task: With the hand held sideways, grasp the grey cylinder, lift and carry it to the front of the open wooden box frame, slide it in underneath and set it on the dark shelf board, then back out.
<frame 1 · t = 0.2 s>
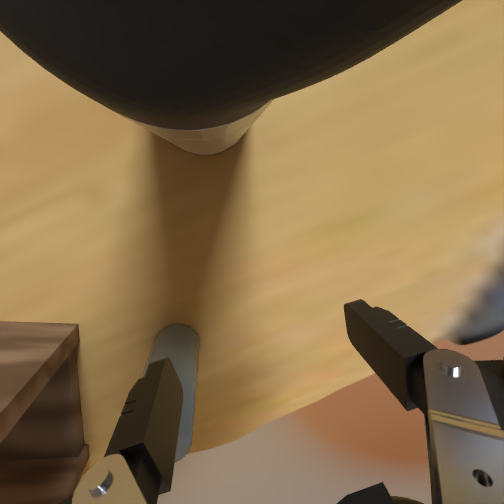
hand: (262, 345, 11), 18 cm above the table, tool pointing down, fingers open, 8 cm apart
open wooden box frame: (21, 398, 30), on the table
grey cylinder: (177, 342, 31), on the table
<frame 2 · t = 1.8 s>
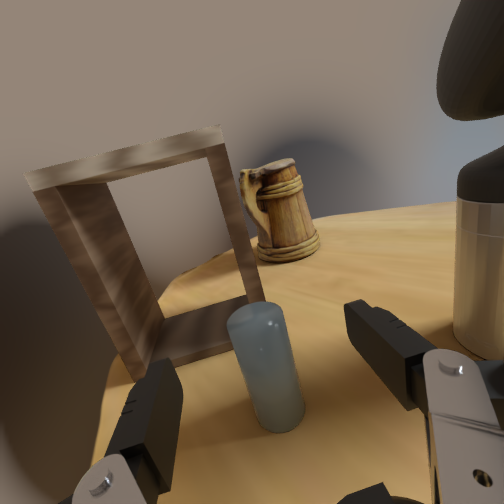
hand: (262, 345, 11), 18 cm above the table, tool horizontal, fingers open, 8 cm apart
open wooden box frame: (207, 332, 44), on the table
grey cylinder: (280, 407, 27), on the table
tankard: (285, 254, 70), on the table
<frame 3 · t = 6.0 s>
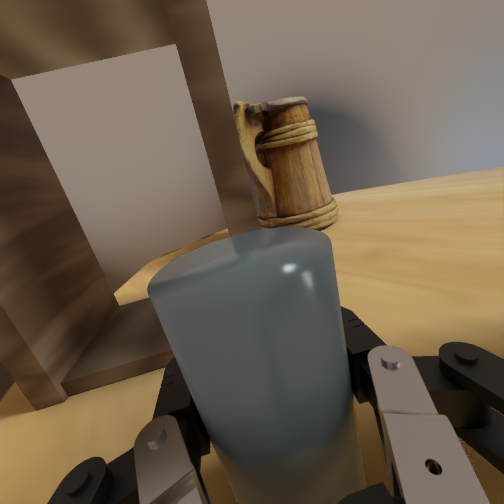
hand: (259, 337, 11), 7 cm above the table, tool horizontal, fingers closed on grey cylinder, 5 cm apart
open wooden box frame: (176, 324, 28), on the table
grey cylinder: (304, 493, 11), on the table, touching gripper
tankard: (293, 229, 54), on the table
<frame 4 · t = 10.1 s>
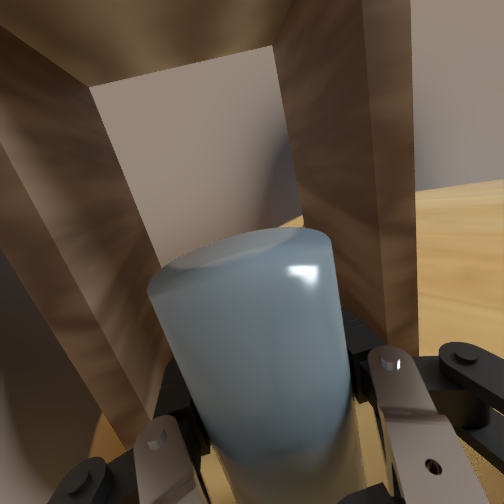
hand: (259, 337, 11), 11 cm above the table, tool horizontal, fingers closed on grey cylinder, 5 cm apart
open wooden box frame: (267, 360, 25), on the table
grey cylinder: (304, 493, 11), point 4 cm above the table, touching gripper
when the fingers open (9 cm above the table, at t = 14.4 s): grey cylinder stays where it is, resting on open wooden box frame.
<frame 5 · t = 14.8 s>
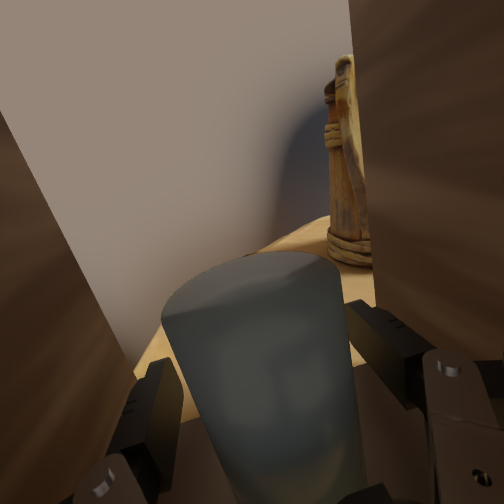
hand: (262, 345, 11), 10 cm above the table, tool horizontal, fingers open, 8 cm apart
tankard: (383, 252, 38), on the table
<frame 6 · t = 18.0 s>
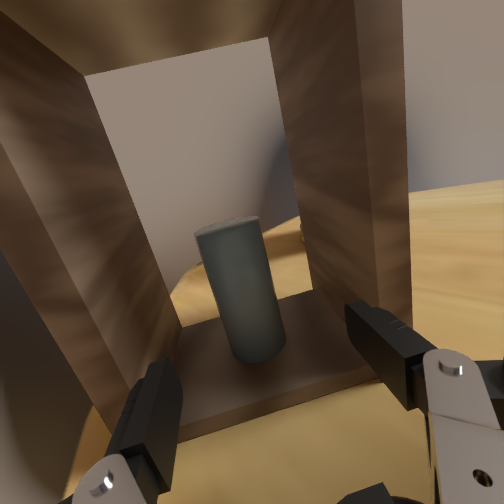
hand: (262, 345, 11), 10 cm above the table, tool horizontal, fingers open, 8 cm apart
open wooden box frame: (261, 353, 25), on the table
grey cylinder: (258, 341, 24), point 2 cm above the table, touching open wooden box frame
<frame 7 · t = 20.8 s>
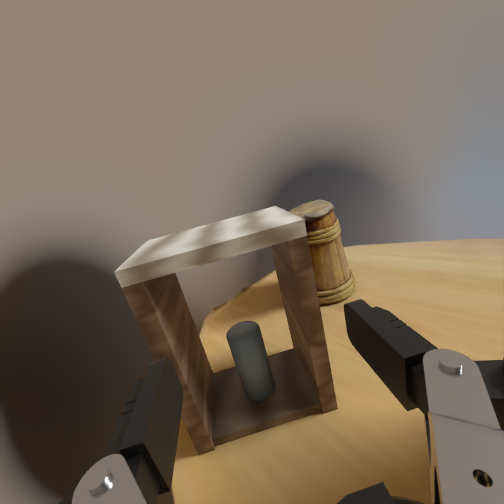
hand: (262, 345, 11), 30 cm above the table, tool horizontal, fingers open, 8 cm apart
open wooden box frame: (261, 393, 44), on the table
grey cylinder: (259, 387, 43), point 2 cm above the table, touching open wooden box frame
tankard: (319, 293, 70), on the table
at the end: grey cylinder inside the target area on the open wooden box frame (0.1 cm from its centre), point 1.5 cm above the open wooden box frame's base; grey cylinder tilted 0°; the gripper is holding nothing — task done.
